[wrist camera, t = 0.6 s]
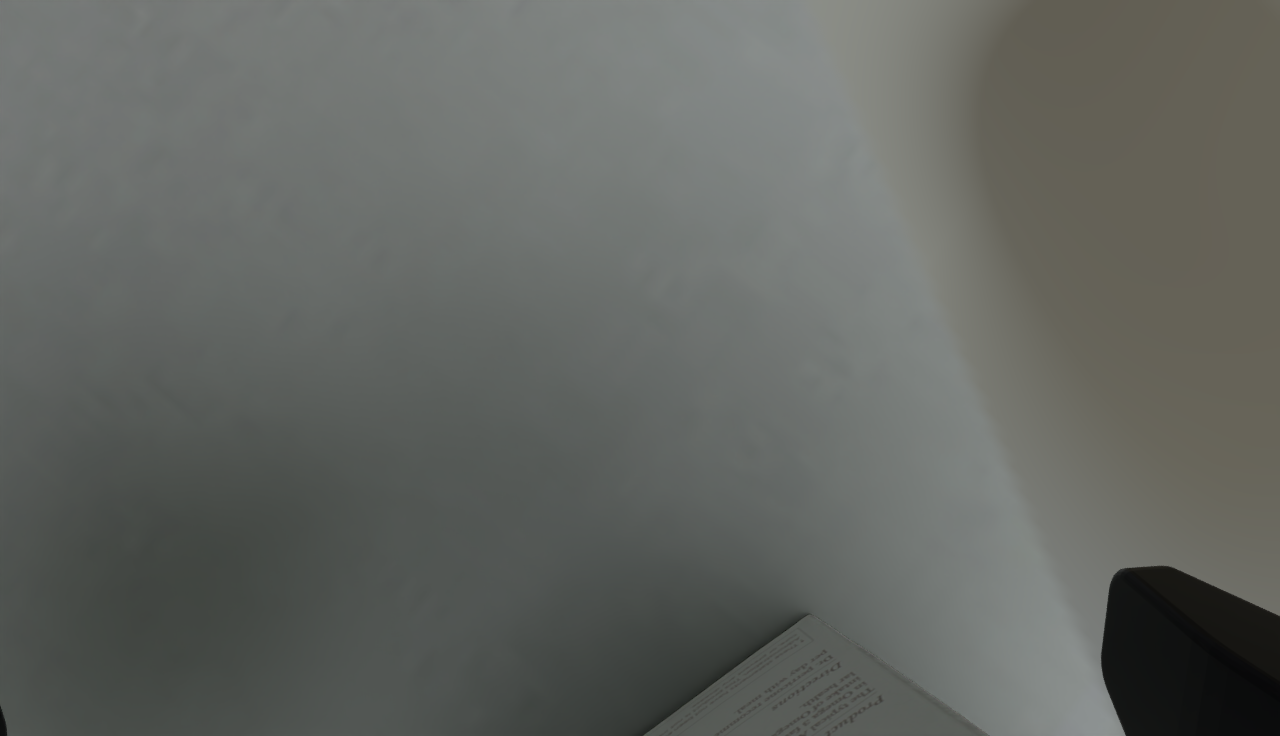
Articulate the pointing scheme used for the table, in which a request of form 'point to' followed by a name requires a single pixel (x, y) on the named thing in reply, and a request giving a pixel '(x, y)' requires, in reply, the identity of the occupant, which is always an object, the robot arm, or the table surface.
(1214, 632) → the robot arm
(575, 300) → the table surface
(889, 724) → the supplement box
